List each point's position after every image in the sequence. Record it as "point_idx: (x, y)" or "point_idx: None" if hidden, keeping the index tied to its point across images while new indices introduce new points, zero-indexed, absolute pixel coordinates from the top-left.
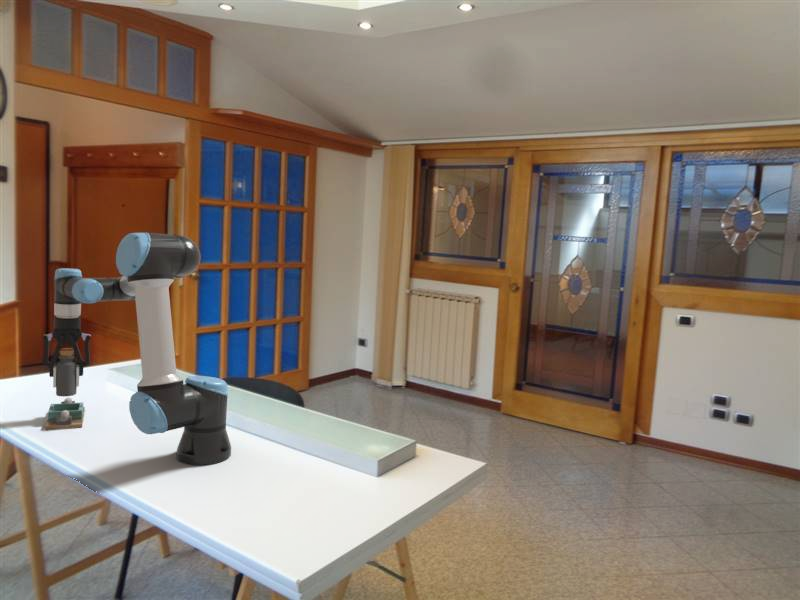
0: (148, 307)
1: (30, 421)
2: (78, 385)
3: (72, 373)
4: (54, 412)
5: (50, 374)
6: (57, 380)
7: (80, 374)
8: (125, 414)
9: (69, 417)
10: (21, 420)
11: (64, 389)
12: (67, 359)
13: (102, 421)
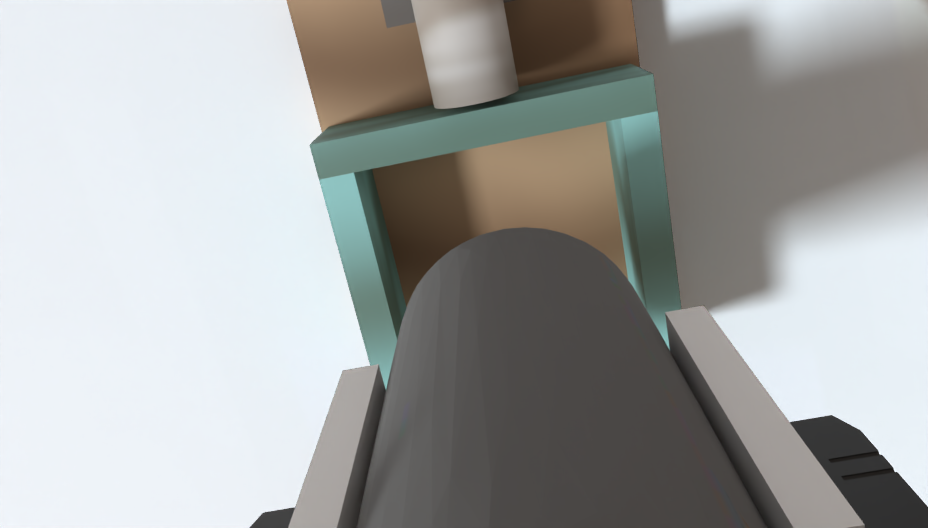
0: None
1: (801, 187)
2: (343, 378)
3: (398, 449)
4: (586, 87)
5: (848, 445)
6: (670, 363)
7: (287, 525)
8: (41, 368)
9: None
10: (883, 218)
11: (521, 257)
12: None
13: (165, 169)
